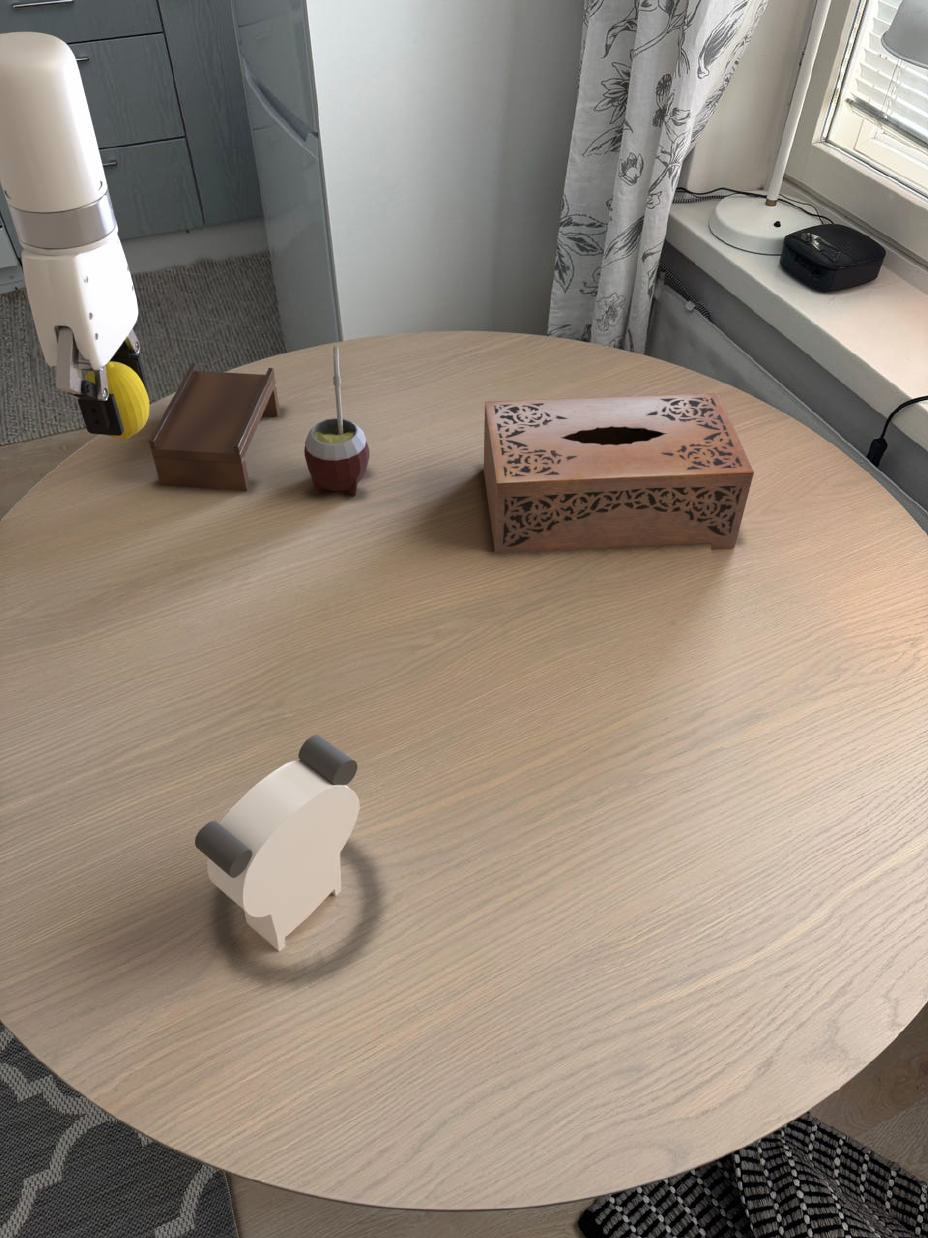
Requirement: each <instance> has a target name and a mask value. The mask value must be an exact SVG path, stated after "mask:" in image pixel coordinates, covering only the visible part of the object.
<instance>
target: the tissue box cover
mask: <svg viewBox="0 0 928 1238" xmlns="http://www.w3.org/2000/svg"><path fill="white" fill-rule="evenodd" d="M483 423H484V426H483V428H484V430H483V432H484V433H483V476H484V481H485V483H484V484H485V489H486V496H487V504H488V511H489V512H488V513H489V518H490V526H491V534H492V540H493V541H492V542H493V547H494V553H511V552H512V553H513V552H532V551H533V552H534V551H553V550H557V551H558V550H575V549H576V550H577V549H597V548H598V549H600V548H601V549H602V548H620V547H623V548H624V547H641V546H642V547H643V546H644V547H645V546H660V545H661V546H665V545H684V544H685V545H689V544H710V549H711V550H716V549H718V550H719V549H735V547H736V543H737V540H738V536H739V532H740V528H741V525H742V521H743V518H744V517H743V516H744V513H745V508H746V506H747V503H748V502H747V501H748V497H749V493H750V490H751V486H752V482H753V478H754V475H755V472H754V469H753V467H752V464H751V463H750V460H749V458H748V456H747V454H746V451H745V449H744V446H743V445H742V442H741V440H740V438H739V436H738V434H737V432H736V429H735V427H734V425H733V422H732V420H731V419H730V416H729V413H728V412H727V409H726V407H725V405H724V402H723V400H722V397H721V396H720V393H719V392H709V393H708V392H703V393H702V392H701V393H684V394H683V393H679V394H678V393H677V394H676V393H675V394H653V395H652V394H650V395H626V396H598V397H597V396H596V397H574V398H573V397H571V398H569V397H568V398H546V399H542V398H541V399H520V400H519V399H517V400H493V401H491V400H490V401H484V422H483Z"/></svg>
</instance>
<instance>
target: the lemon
mask: <svg viewBox="0 0 928 1238" xmlns="http://www.w3.org/2000/svg"><path fill="white" fill-rule="evenodd" d="M106 373H107V383H108V392H109V394H114V396H115V400H116V403H117V407H118V410H119V414H120V418H121V421H122V425H123V428H124V432H123V433H122V435H121V436H113V435H107V436H109V437H111V438H115V439H117V438H118V439H123V440H128V439H130V438H131V437H132V436H134V435H137V434H138V433H140V431H141V430H142V429H144V427H145V425H146V423H147V422H148V419H149V416H150V399H149V395H148V393H147V392H146V389H145V387H144V385H143V383H142V381H141V379H140V378H139V376H138V375H137V374H136V373H135V372H134V371H133V370H132V369H131V368H130V367H128V366H126V365H124V364H122V363H118V362H112V361H111V362H108V363H107V364H106ZM84 380H89V381H91V382H93V383H94V384H95V376H94V371H88V372H87V374H86V376H85V378H84Z"/></svg>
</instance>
